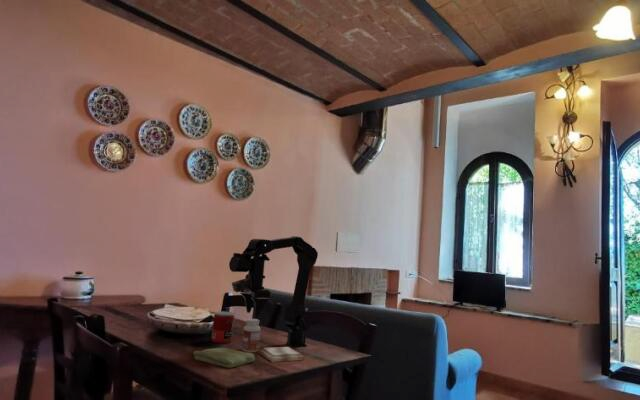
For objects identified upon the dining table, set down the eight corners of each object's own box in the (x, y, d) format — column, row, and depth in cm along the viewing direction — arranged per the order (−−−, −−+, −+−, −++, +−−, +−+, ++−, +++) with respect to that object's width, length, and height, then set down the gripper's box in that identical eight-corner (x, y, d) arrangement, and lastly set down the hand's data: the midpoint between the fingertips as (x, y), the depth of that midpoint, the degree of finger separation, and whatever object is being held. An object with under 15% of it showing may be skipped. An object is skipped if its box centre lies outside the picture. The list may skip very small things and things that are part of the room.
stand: (289, 351, 157) (289, 346, 158) (303, 359, 147) (304, 354, 147) (259, 353, 152) (259, 347, 152) (271, 361, 141) (272, 355, 142)
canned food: (227, 344, 161) (230, 315, 162) (207, 342, 162) (210, 313, 164) (234, 340, 168) (237, 312, 170) (216, 338, 170) (219, 310, 171)
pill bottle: (239, 348, 155) (242, 318, 157) (254, 348, 158) (257, 318, 160) (244, 353, 150) (247, 321, 151) (260, 352, 153) (263, 321, 154)
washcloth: (218, 353, 149) (219, 343, 149) (256, 363, 139) (257, 353, 140) (189, 359, 138) (190, 349, 138) (229, 371, 128) (230, 360, 129)
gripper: (228, 269, 162) (224, 310, 161) (243, 273, 146) (239, 319, 144) (255, 270, 168) (252, 310, 166) (272, 274, 151) (269, 319, 149)
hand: (252, 314), depth 156 cm, fingers open, 9 cm apart
